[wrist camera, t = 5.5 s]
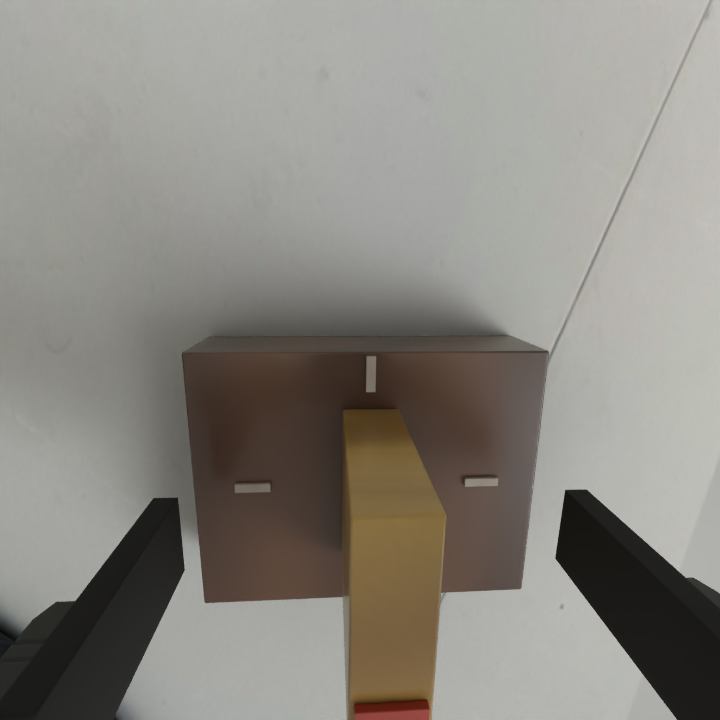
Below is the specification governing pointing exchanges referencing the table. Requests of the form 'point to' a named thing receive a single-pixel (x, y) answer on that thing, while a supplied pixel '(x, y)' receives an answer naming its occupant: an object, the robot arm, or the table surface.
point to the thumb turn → (389, 569)
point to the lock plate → (324, 452)
